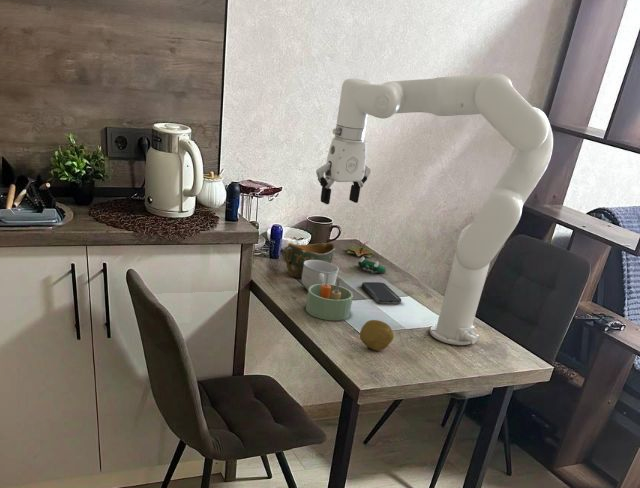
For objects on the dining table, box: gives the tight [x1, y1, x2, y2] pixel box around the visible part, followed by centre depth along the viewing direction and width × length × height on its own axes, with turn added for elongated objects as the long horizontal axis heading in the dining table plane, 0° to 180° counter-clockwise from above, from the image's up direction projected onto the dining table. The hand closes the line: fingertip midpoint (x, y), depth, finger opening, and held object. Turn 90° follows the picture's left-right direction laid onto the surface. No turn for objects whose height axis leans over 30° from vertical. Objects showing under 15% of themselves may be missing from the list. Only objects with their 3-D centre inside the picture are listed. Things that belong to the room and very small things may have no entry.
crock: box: [305, 284, 354, 322], centre depth 208 cm, size 13×13×6 cm
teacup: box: [301, 260, 340, 291], centre depth 219 cm, size 14×11×8 cm
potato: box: [359, 319, 394, 352], centre depth 189 cm, size 7×8×8 cm
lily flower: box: [346, 239, 377, 258], centre depth 257 cm, size 12×12×5 cm
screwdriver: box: [320, 272, 331, 299], centre depth 208 cm, size 3×3×10 cm
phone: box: [361, 281, 402, 305], centre depth 225 cm, size 8×1×15 cm
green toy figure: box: [357, 256, 387, 274], centre depth 243 cm, size 9×4×6 cm
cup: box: [281, 242, 336, 279], centre depth 232 cm, size 13×20×10 cm, turn 105°
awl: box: [331, 278, 341, 300], centre depth 204 cm, size 3×3×10 cm
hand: (339, 202), depth 194 cm, fingers open, 9 cm apart
